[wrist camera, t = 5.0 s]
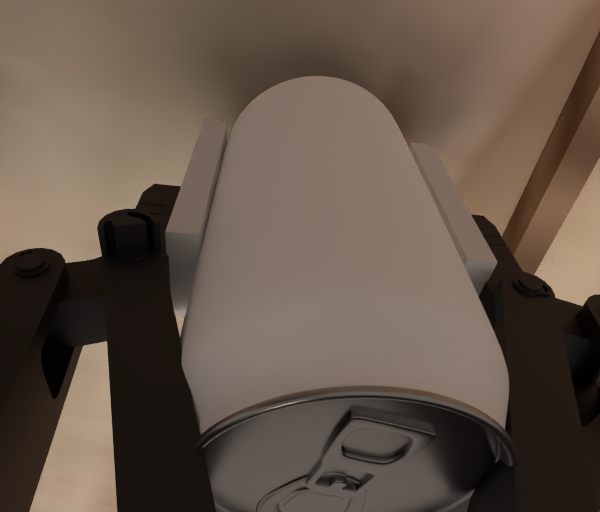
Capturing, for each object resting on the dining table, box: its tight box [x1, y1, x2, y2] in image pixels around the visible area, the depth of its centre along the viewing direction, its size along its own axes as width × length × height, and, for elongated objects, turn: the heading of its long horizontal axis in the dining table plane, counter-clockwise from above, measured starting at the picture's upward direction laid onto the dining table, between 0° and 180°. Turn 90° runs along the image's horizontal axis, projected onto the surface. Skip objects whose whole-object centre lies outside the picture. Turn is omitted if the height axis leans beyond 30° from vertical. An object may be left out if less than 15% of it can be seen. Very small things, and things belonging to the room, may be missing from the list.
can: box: [180, 76, 520, 512], centre depth 12 cm, size 6×6×12 cm
